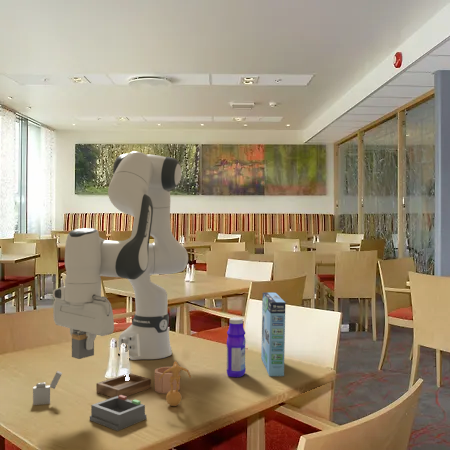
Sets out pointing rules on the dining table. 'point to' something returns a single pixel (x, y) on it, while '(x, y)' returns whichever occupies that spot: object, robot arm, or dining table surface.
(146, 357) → the robot arm
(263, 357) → the gum box
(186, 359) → the dining table surface
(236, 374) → the bottle
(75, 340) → the battery
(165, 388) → the pink octagonal pot
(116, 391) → the brown wooden tray
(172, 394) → the figurine
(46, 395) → the lighter
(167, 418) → the dining table surface
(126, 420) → the tray
